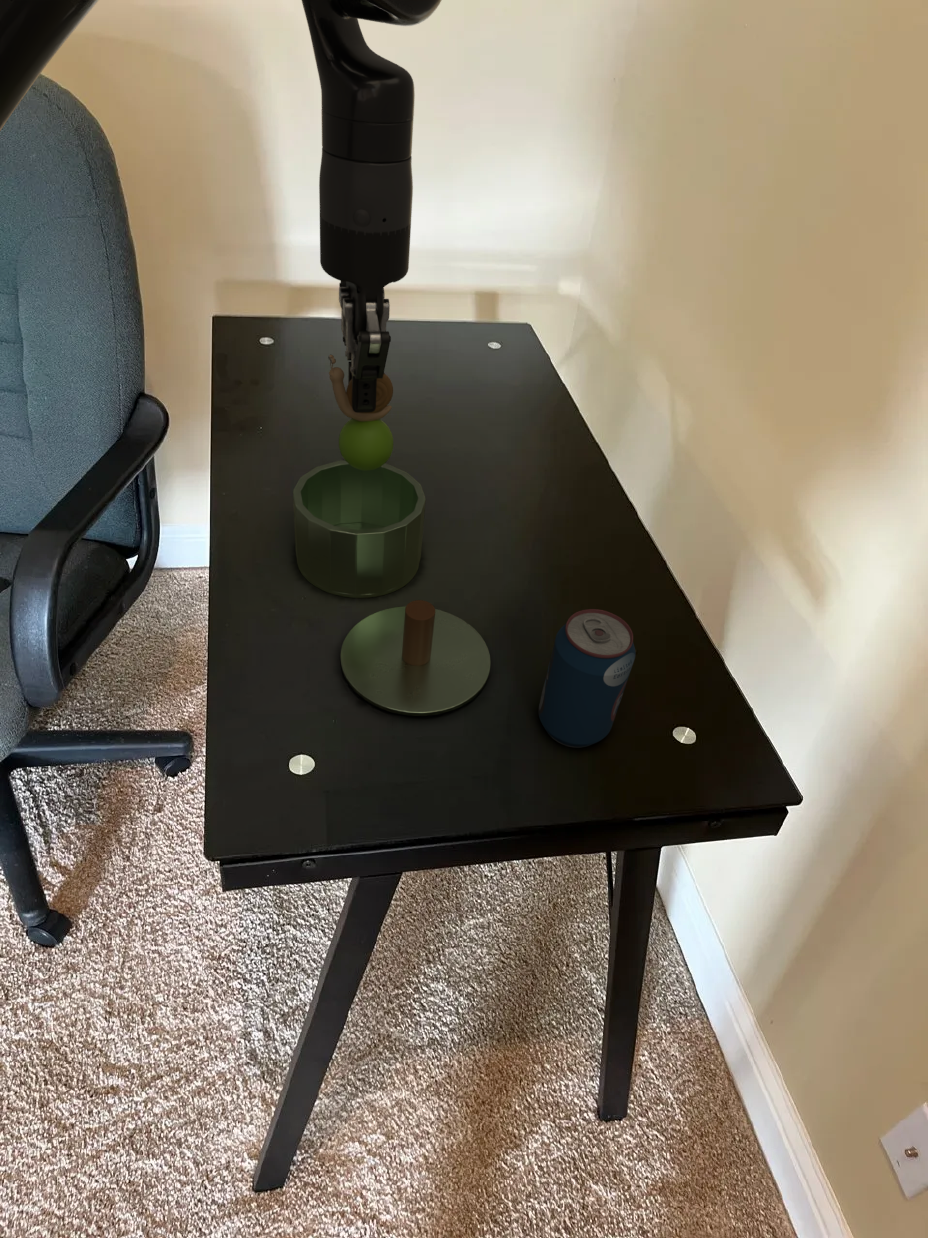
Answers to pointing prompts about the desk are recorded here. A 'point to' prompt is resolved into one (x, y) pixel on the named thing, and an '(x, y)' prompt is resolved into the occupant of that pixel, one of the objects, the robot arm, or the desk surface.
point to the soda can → (586, 677)
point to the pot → (358, 529)
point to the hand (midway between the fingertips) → (361, 403)
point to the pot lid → (415, 660)
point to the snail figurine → (363, 424)
